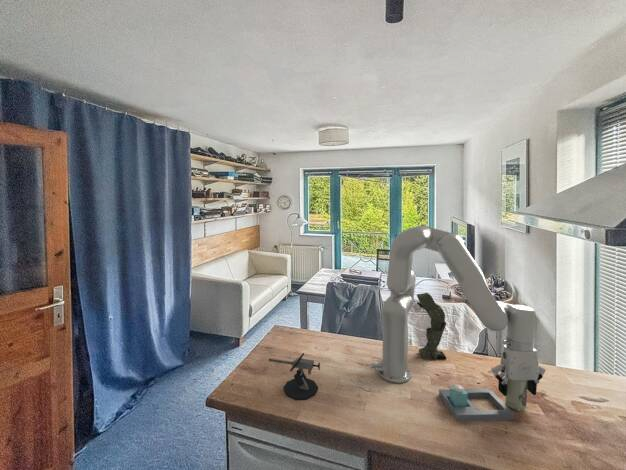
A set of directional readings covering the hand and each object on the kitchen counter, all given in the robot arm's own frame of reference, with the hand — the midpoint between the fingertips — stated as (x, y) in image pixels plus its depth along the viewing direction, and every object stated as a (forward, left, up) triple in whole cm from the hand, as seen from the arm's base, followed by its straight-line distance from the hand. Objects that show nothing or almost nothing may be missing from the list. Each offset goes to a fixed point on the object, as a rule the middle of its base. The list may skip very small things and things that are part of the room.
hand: (517, 393), depth 101 cm
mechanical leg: (-15, +34, -5) cm, 38 cm away
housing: (-14, 0, -5) cm, 15 cm away
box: (0, 0, -5) cm, 5 cm away
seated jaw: (-20, 0, -5) cm, 20 cm away
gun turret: (-75, +12, -5) cm, 76 cm away
